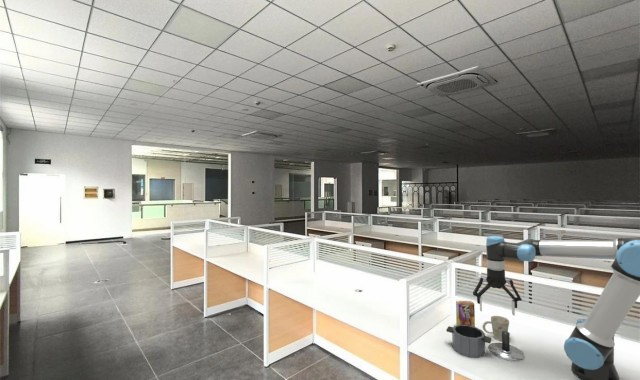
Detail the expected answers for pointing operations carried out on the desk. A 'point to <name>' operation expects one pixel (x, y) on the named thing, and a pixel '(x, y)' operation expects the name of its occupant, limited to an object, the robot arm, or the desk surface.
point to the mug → (497, 326)
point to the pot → (468, 340)
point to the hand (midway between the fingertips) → (496, 312)
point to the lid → (506, 349)
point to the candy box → (465, 313)
